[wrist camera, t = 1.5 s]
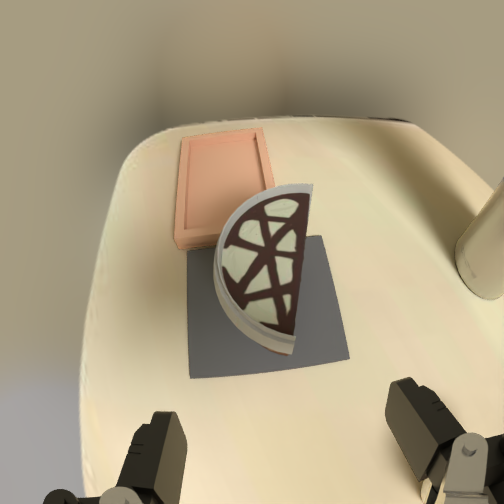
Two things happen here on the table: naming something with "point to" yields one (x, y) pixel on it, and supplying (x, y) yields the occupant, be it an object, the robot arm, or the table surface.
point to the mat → (244, 348)
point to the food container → (264, 264)
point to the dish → (217, 182)
